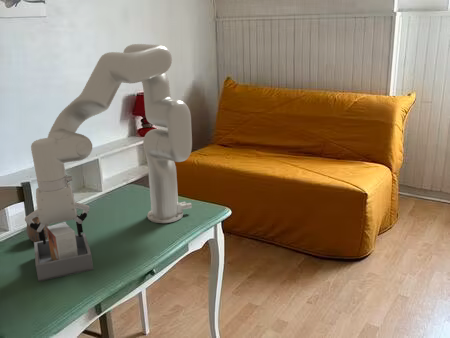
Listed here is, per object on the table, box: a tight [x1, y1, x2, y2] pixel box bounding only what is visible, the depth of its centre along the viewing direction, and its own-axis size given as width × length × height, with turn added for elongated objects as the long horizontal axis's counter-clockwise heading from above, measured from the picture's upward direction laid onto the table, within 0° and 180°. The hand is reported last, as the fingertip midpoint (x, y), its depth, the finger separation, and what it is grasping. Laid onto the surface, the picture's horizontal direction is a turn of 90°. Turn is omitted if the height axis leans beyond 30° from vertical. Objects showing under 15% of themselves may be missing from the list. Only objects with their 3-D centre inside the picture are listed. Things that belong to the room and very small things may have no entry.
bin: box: [33, 232, 94, 283], centre depth 134 cm, size 15×15×5 cm
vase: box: [26, 216, 50, 243], centre depth 147 cm, size 7×7×9 cm
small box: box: [47, 221, 78, 261], centre depth 133 cm, size 8×6×10 cm
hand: (62, 238), depth 132 cm, fingers open, 9 cm apart
